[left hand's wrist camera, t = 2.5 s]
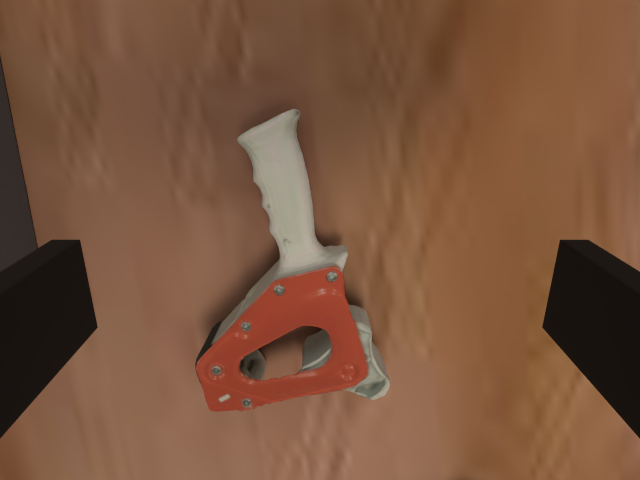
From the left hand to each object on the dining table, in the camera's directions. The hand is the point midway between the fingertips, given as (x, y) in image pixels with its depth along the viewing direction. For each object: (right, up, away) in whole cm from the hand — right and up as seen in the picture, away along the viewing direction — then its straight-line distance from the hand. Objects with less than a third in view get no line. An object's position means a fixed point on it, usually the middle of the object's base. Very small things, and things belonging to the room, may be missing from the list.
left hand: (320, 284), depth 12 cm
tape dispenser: (-2, -1, +21) cm, 21 cm away
